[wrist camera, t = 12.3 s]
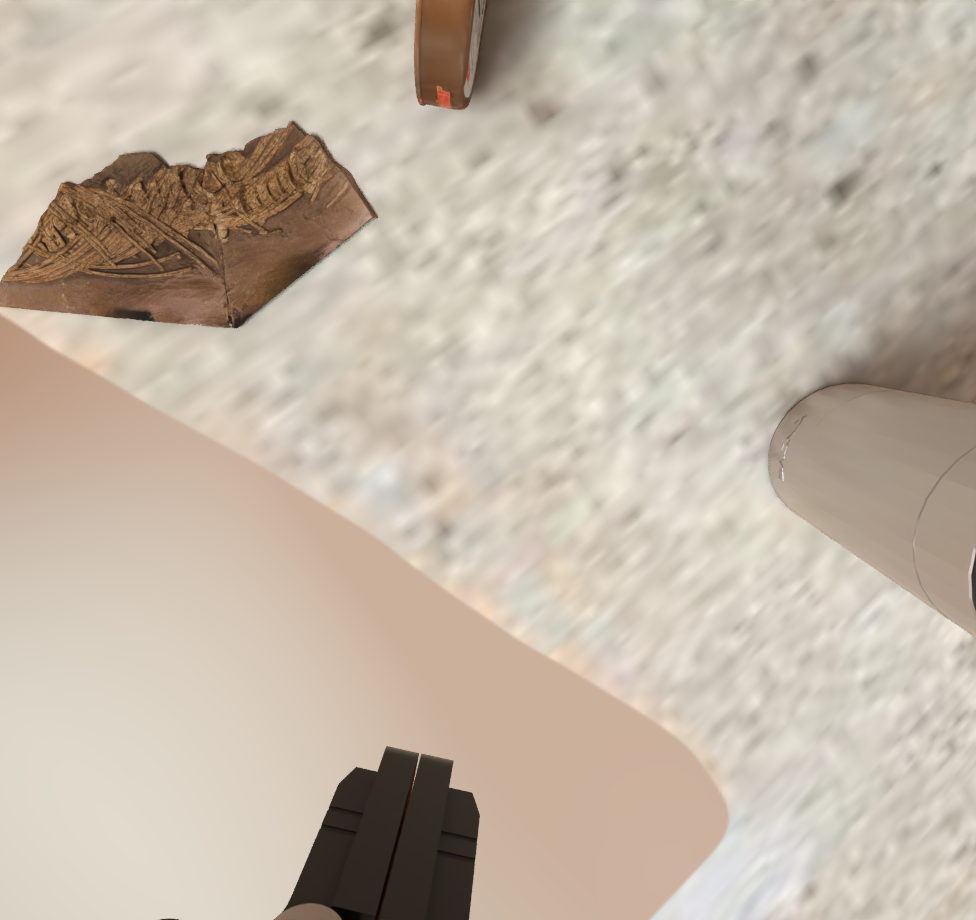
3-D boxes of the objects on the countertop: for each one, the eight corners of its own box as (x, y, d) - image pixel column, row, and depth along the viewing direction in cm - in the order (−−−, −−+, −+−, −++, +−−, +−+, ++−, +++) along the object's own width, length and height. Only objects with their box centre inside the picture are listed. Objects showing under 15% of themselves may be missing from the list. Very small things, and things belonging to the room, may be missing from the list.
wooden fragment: (357, 111, 34) (352, 105, 33) (393, 302, 36) (389, 301, 35) (-35, 191, 36) (-52, 187, 35) (22, 365, 39) (9, 366, 38)
